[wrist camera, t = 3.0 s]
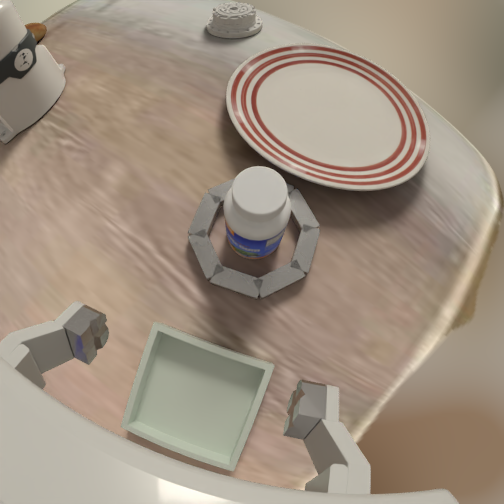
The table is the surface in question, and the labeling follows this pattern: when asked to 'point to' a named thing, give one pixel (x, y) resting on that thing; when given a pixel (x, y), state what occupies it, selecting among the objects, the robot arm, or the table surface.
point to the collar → (240, 280)
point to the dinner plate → (329, 117)
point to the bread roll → (37, 30)
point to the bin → (195, 396)
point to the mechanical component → (234, 21)
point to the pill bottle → (256, 212)
